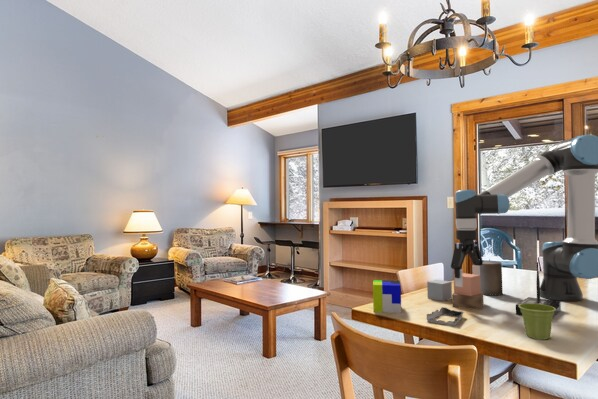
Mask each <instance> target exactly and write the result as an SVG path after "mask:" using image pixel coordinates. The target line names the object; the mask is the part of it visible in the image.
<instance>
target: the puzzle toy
mask: <svg viewBox="0 0 598 399" xmlns="http://www.w3.org/2000/svg"><path fill="white" fill-rule="evenodd" d="M401 286H402V285H401V282H400V280H394V279H392V280H390V279H389V280H386V279H381V280H380V279H378V280H377V279H374V280H373V282H372V300H373V301H372V302H373V303H372V304H373V305H372V308H373V313H374V312H375V313H395V314H396V313H399V314H401V313H402V290H401V289H402V287H401Z"/></svg>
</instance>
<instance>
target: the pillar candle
mask: <svg viewBox="0 0 598 399" xmlns="http://www.w3.org/2000/svg"><path fill="white" fill-rule="evenodd" d="M502 269H503V266H502V262H500V261H494V260H493V261H492V260H491V259H488V260H483V264H482V265H480V290H481V292H483V296H503V294H504V293H503V270H502Z"/></svg>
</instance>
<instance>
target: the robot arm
mask: <svg viewBox="0 0 598 399" xmlns="http://www.w3.org/2000/svg"><path fill="white" fill-rule="evenodd" d="M561 171H562V172H563V174H565V175H566V176H567V212H566V213H567V218H566V219H567V221H566V222H567V225H566V226H567V229H566V230H567V232H566V234H567V236H566V238H564V239H563V240H562V241H546V242H543V243H542V250H541V252H542V267H543V269H542V271H543V272H542V273H543V278H542V281H541V282H540V298H541V297H542V298H543V299H544V298H545V299H547V300H555V301H560V302H561V301H565V302H577V301H578V302H579V301H583V298H584V297H583V291H582V289H581V287H580V283H579V281H578V279H585V280H591V279H593V280H594V279H596V278H598V240H597V239H596V238H595V237H596V226H595V225H596V224H595V223H596V175H597V174H598V136H597V135H594V134H583V135H577V136H575V137H572V138H569V139H568V138H567V139H564V140H561V141H559V142H557V143H555V144H553V145H552V146H551V147H549V148H548V149H546V150H544V151H543V152H542V153H540V154H539V155H537V156H536V157H535V160H533V161H531V162H530V163H528V164H526V165H525V166H523V167H522V168H519V169H518V170H517V171H515V172H513V173H511V174H510V175H509V176H507V177H505V178H503V179H501V180H500V181H498V182H496V183H495V184H493V185H491V186H490V187H488V188H487V189H485V190H483V191H481V192H480V193H478V194H477V193H476V190H475V189H461V190H460V189H459V190H456V192H455V193H454V209H455V210H454V211H455V228H456V231H455V238H456V240H459V242H455V243H454V250H453V254H452V258H451V263H450V268H451V269H452V270H454V275H455V286H458V287H463V276H462V273H463V269H462V267H463V265H464V262H465V258H466V256H469V258H470V260H471V262H472V265H471V266H472V269H471V270H472V271H471V272H472V274H474V275H480V265H482V264H483V261H484V259H483V258H482V254H481V251H480V247H479V241H478V231H477V230H476V229H477V228H478V226H477V223H478V222H477V214H478V215H488V214H489V215H493V214H495V215H497V214H498V215H500V214H501V215H502V214H506V213H508V211H509V210H510V199H509V198H510V197H512V196H513V195H515V194H517V193H519V192H520V191H522V190H524V189H525V188H527V187H529V186H530V185H531V186H532V184H534V183H535V182H537V181H539V180H540V179H542V178H544V177H545V176H552V175H554V174H556V173H558V172H561Z"/></svg>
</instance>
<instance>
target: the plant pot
mask: <svg viewBox="0 0 598 399" xmlns="http://www.w3.org/2000/svg"><path fill="white" fill-rule="evenodd" d="M519 308H520V310H521V313H522V315H521V316H522V319H523V325H524V326H523V327H524V330H525V335H526V337H529V338H532V339H535V340H547V339H551V334H552V326H553V318H554V317H553V315H554V311H556V308H554V307H552V306H548V305H542V304H533V303H526V304H520V305H519Z"/></svg>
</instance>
